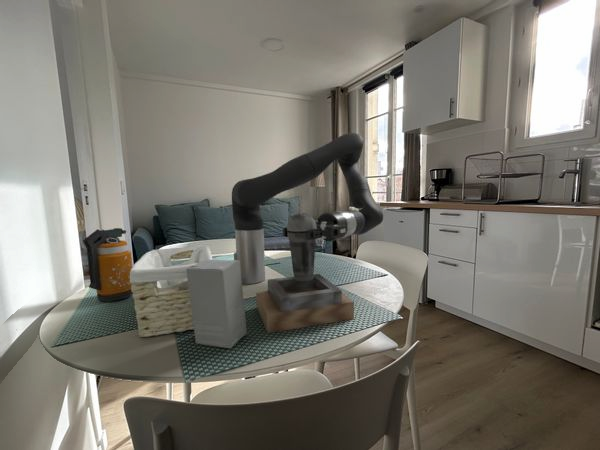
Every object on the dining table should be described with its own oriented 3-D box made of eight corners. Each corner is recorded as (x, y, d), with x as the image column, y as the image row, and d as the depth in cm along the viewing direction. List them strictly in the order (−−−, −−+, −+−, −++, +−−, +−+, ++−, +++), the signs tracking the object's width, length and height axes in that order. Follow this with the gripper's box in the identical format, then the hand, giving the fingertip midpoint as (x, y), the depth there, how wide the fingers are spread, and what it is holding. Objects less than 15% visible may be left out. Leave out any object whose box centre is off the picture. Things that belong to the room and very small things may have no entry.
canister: (141, 294, 84) (135, 226, 82) (102, 308, 74) (94, 232, 72) (122, 290, 88) (115, 225, 86) (82, 303, 78) (74, 230, 76)
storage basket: (151, 301, 79) (146, 248, 77) (212, 293, 84) (209, 243, 82) (132, 344, 56) (125, 271, 55) (217, 329, 62) (213, 262, 60)
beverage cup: (319, 273, 71) (316, 193, 69) (318, 283, 64) (315, 193, 62) (290, 273, 72) (286, 194, 70) (286, 283, 65) (282, 194, 62)
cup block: (267, 333, 59) (266, 300, 59) (256, 307, 73) (255, 280, 72) (353, 318, 65) (353, 289, 64) (329, 297, 79) (329, 272, 78)
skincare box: (247, 334, 59) (244, 259, 57) (228, 352, 52) (223, 268, 51) (212, 328, 62) (208, 256, 60) (190, 345, 55) (184, 265, 53)
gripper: (315, 210, 82) (273, 216, 69) (360, 212, 72) (320, 219, 60) (316, 236, 83) (274, 246, 70) (360, 241, 73) (321, 254, 61)
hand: (296, 233), depth 65 cm, fingers closed on beverage cup, 7 cm apart
